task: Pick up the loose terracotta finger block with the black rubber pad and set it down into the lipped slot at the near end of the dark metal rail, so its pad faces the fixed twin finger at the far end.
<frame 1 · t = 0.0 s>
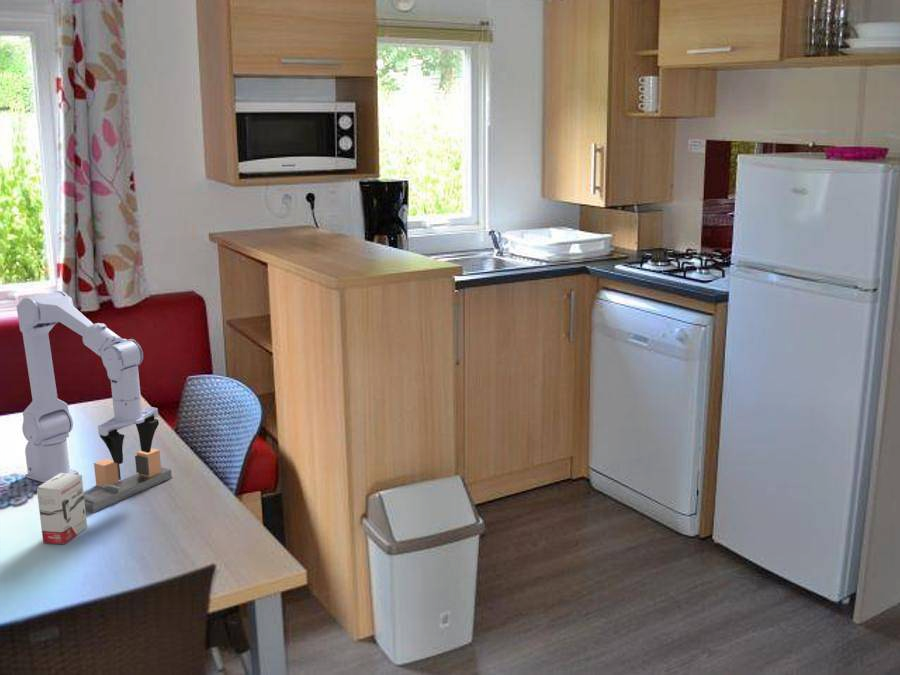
hand: (132, 457, 205), 10 cm above the table, fingers open, 7 cm apart
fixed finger: (150, 473, 217), resting on rail
ink box: (66, 535, 191), on the table
rail: (126, 492, 212), on the table
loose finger: (107, 484, 216), on the table
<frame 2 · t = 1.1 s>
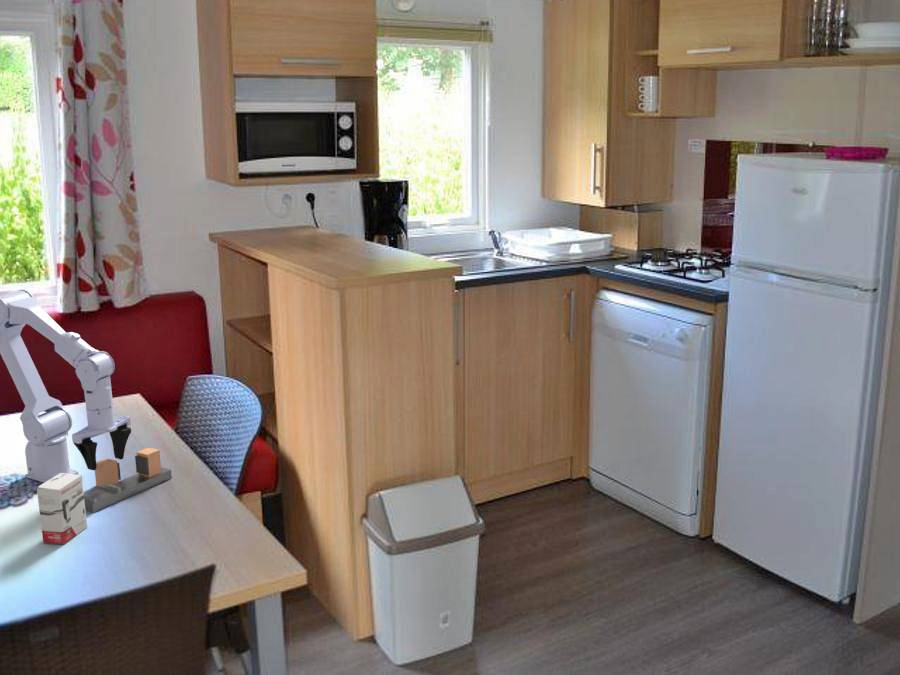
hand: (105, 463, 215), 5 cm above the table, fingers open, 7 cm apart
nothing on the table moved.
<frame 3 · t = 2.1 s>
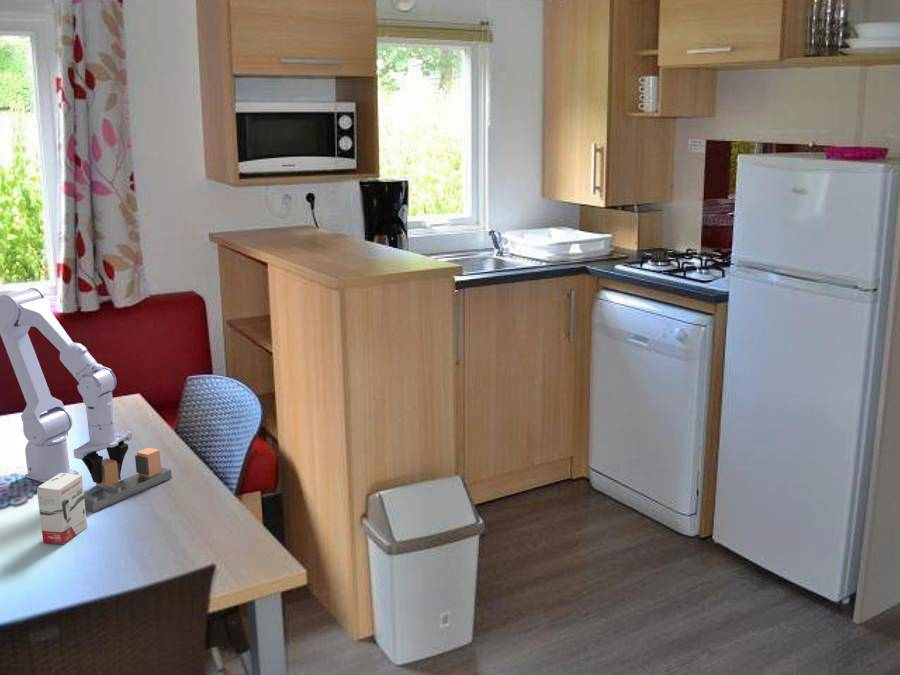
hand: (107, 478, 216), 1 cm above the table, fingers open, 5 cm apart
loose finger: (107, 484, 216), on the table, touching gripper
everything else where it was.
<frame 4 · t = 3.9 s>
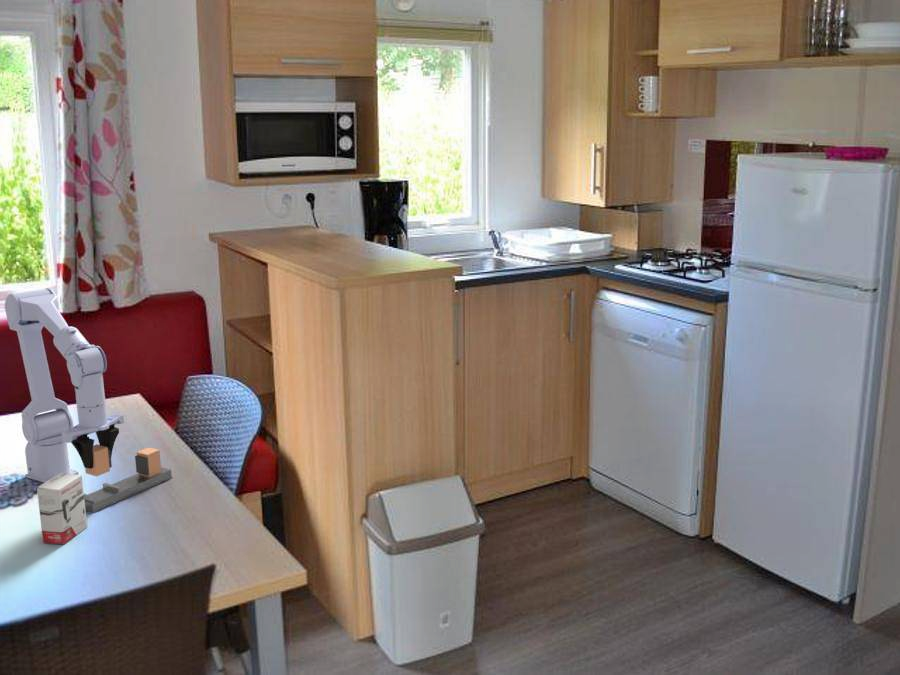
hand: (97, 463, 204), 9 cm above the table, fingers closed on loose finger, 4 cm apart
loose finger: (97, 472, 204), point 7 cm above the table, touching gripper
everything else where it was.
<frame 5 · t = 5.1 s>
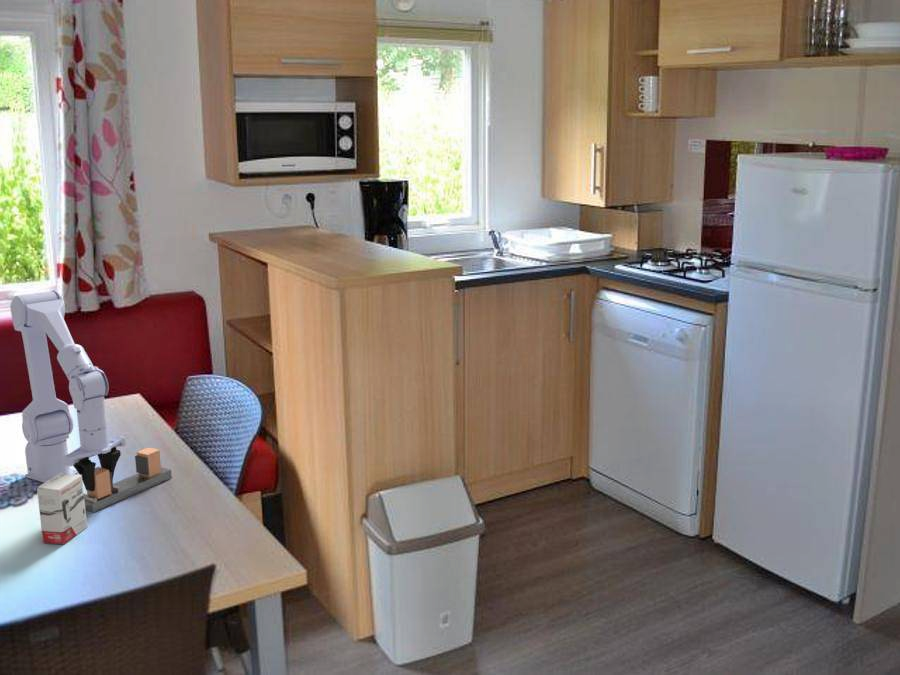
hand: (99, 486, 205), 4 cm above the table, fingers closed on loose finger, 4 cm apart
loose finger: (99, 494, 205), point 2 cm above the table, touching gripper
everything else where it was.
when the fingers open (4 cm above the table, at t = 5.7 s): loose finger stays where it is, resting on rail.
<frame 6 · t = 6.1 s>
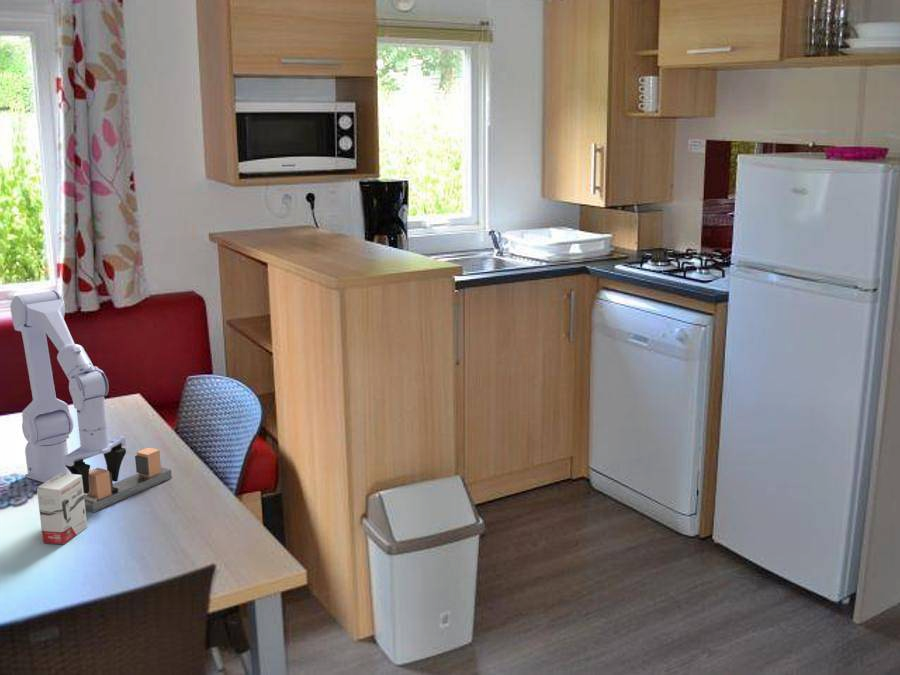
hand: (99, 486, 205), 4 cm above the table, fingers open, 7 cm apart
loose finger: (99, 495, 205), point 2 cm above the table, touching rail
everything else where it was.
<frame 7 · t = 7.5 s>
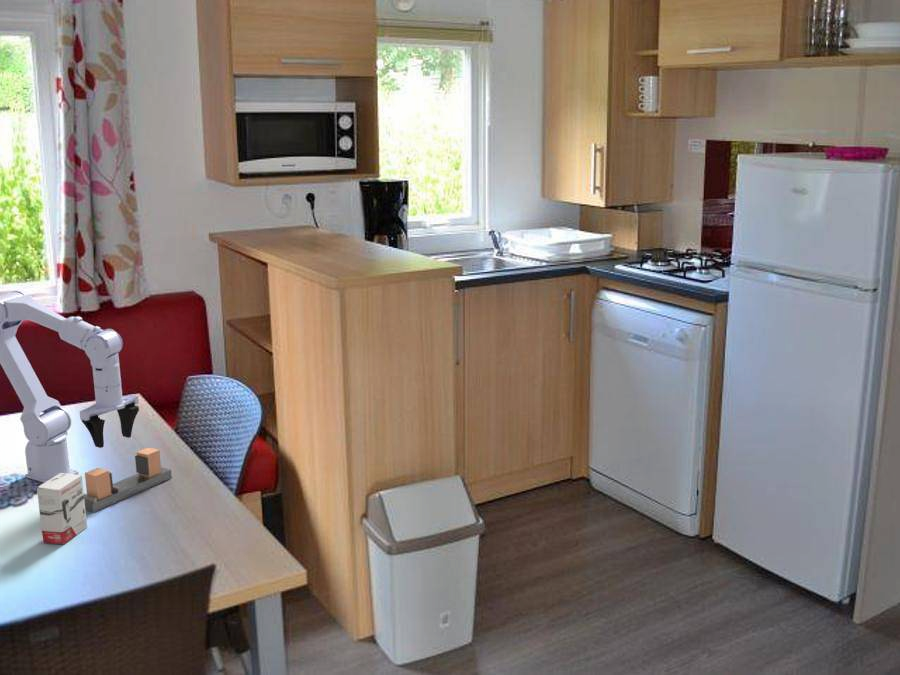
hand: (113, 441, 215), 10 cm above the table, fingers open, 7 cm apart
nothing on the table moved.
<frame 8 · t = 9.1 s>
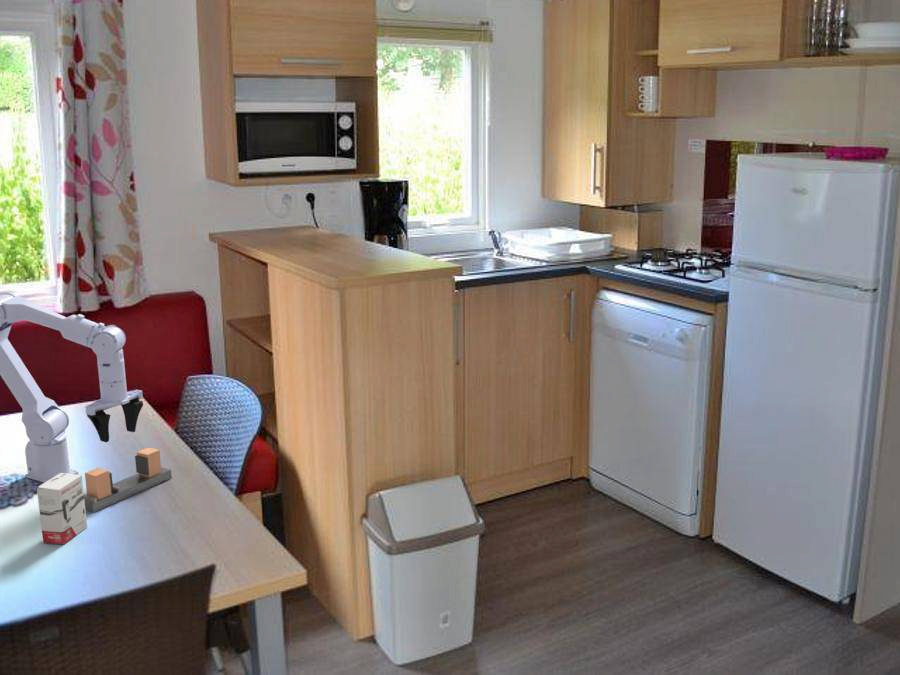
hand: (118, 436, 219), 10 cm above the table, fingers open, 7 cm apart
nothing on the table moved.
at the end: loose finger 0.3 cm from the target spot on the rail, point 2.0 cm above the rail's base; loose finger tilted 0°; the gripper is holding nothing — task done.
